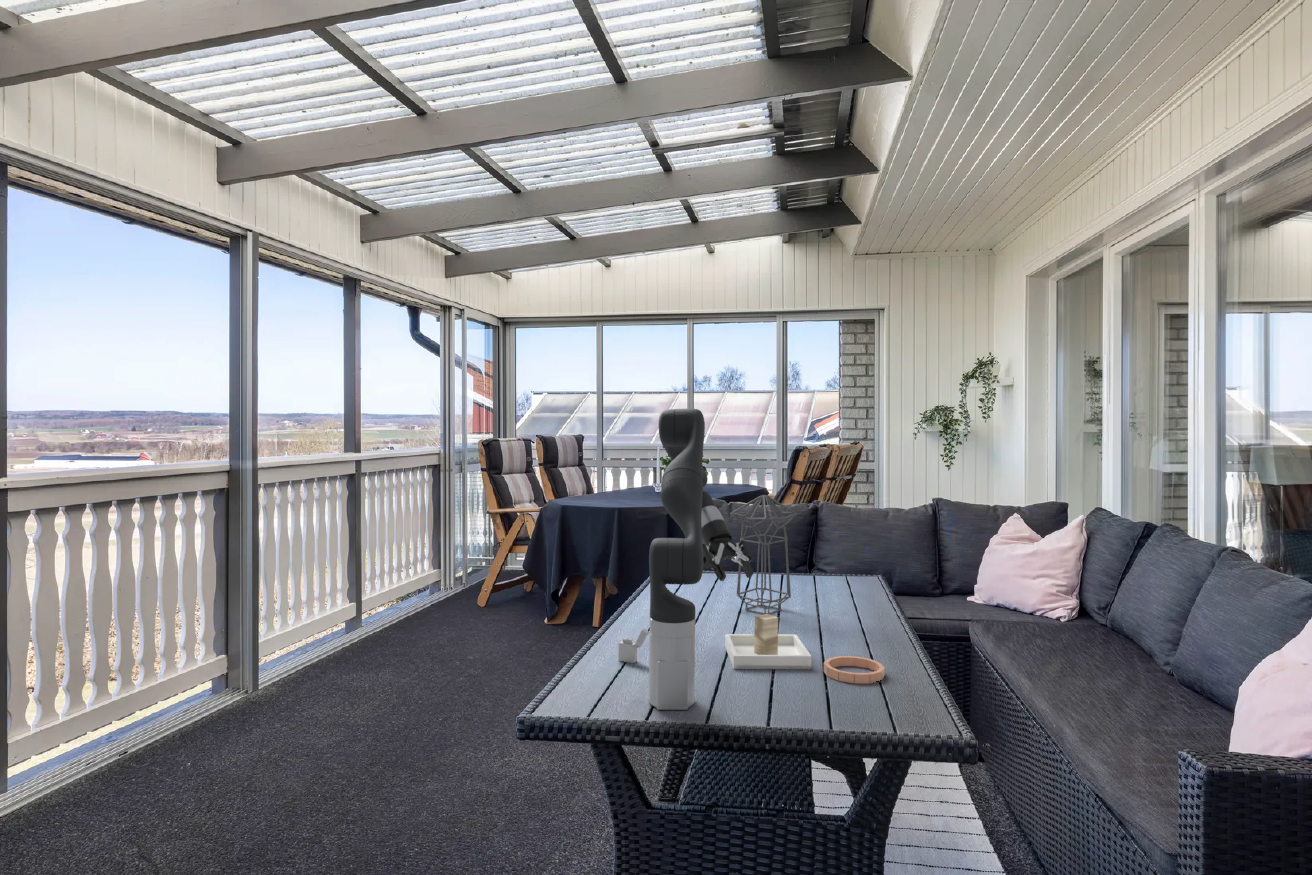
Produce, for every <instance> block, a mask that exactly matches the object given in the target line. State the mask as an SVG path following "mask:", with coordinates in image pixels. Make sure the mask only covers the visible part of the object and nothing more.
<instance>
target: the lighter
mask: <svg viewBox="0 0 1312 875" xmlns="http://www.w3.org/2000/svg"><path fill="white" fill-rule="evenodd" d="M649 634H650V630H648V629H646V628H642V629H641V631H640V634H639V635H638V637H637V639H636V641H635V642H634V641H633V638H628V637H625V638H623V639H622V640H621V641H620V642H618V662H622V661H624V663H631V664H635V663H636V661H637V662H638V648H641V647H642V646H643V644H644V643H645V641H646V639H647V636H648V635H649Z"/></svg>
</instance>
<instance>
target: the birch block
mask: <svg viewBox="0 0 1312 875" xmlns="http://www.w3.org/2000/svg"><path fill="white" fill-rule="evenodd" d="M753 629H754V630H753V631H754V632H753V634H754V653H756V654H758V655H778V634H779V617H777V616H775V615H773V614H772V615H771V614H757V615H754V628H753Z"/></svg>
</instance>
